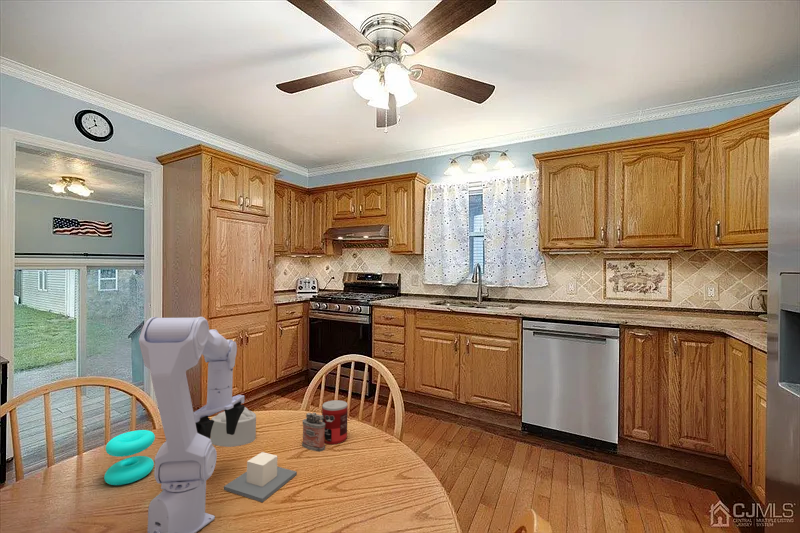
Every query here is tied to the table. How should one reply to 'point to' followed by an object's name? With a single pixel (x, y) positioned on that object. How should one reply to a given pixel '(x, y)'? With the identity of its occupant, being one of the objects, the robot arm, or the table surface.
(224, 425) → the lumpy-topped squat cylinder
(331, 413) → the canned food
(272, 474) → the cube
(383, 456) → the table surface
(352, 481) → the table surface
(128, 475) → the donuts
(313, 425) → the lighter
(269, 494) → the grey square plate
